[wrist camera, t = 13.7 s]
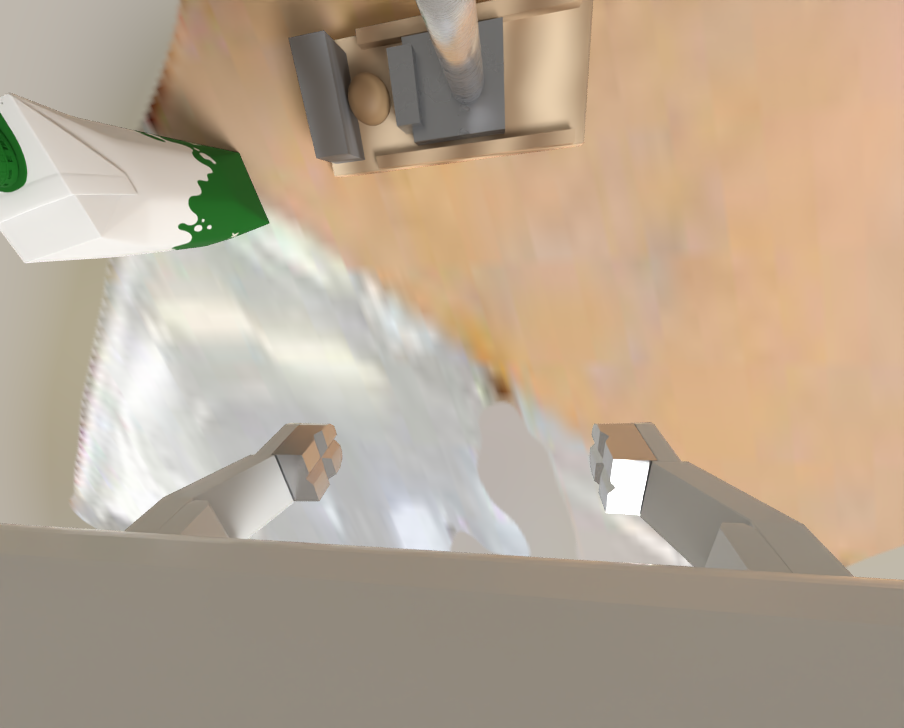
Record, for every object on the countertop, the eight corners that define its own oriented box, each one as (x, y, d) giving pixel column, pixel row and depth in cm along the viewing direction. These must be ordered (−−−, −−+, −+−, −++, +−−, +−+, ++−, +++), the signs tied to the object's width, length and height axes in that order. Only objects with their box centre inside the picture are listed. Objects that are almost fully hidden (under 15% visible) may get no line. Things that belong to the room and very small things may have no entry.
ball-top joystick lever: (502, 28, 26) (512, -418, 7) (504, 133, 29) (516, -4, 10) (395, 49, 27) (183, -284, 9) (408, 147, 30) (268, 48, 12)
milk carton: (242, 140, 33) (-52, 58, 16) (280, 231, 37) (77, 250, 19) (176, 164, 35) (-153, 117, 17) (219, 249, 39) (-18, 281, 21)
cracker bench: (589, -2, 26) (610, -52, 21) (580, 145, 30) (596, 133, 25) (315, 53, 30) (278, 21, 25) (341, 177, 34) (314, 171, 29)
